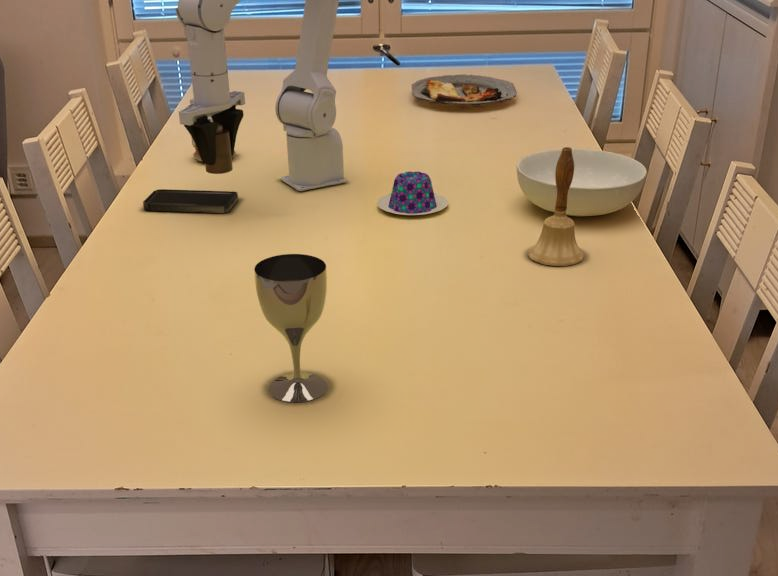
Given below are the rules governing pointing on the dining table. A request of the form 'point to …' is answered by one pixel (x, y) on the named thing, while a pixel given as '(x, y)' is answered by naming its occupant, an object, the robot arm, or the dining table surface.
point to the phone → (190, 201)
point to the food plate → (463, 90)
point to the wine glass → (293, 315)
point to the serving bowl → (583, 181)
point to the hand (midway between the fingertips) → (218, 159)
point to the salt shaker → (221, 153)
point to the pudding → (412, 196)
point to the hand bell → (559, 223)
